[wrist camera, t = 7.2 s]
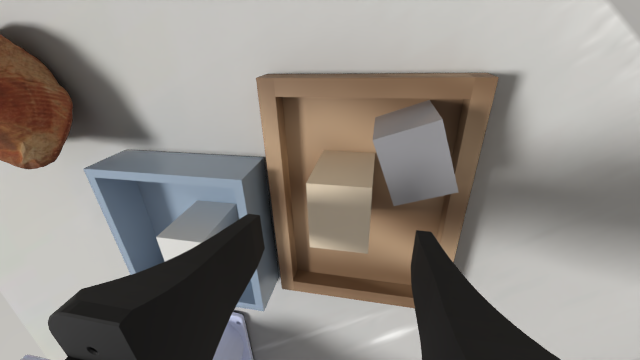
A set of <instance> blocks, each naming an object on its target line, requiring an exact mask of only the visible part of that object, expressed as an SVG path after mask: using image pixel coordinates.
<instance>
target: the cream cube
mask: <svg viewBox="0 0 640 360" xmlns="http://www.w3.org/2000/svg"><path fill="white" fill-rule="evenodd" d="M374 163H375V153H366V152H345V151H324V150H323V152H322V154H321V156H320V158H319V160H318V162H317V164H316V166H315V168H314V169H313V171H312V173H311V175H310V177H309V179H308V181H307V183H306V189H307V207H308V225H309V243H310V247H313V248H322V249H331V250H340V251H348V252H357V253H366V254H368V247H369V235H370V222H371V209H372V193H373V178H374Z"/></svg>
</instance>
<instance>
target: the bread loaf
mask: <svg viewBox="0 0 640 360" xmlns="http://www.w3.org/2000/svg"><path fill="white" fill-rule="evenodd" d="M72 109H73V103H72V100H71V98H70V96H69V94H68V92H67V91H66V90H65V89H64V88H63V87H61V86H60V85H59V84H58V82H57V80H56V79H55V78H54V76H53V74H52V73H51V72H50V71H49V69H48V68H47V67H46V66H45V65H44V64H43V63H42V62H41V61H40V60H38V59H37V58H36V57H35V56H33V55H31V54H29V53H28V52H27V51H25V50H24V49H22V48H21V47H19V46H17V45H14V44H13V43H12V42H11V41H10V40H8V39H7V38H5V37H3V36H2V35H0V160H1V161H4V162H7V163H10V164H12V165H14V166H17V167H20V168H24V169H35V168H39V167H44V166H47V165H48V164H50V163H52V162H54V161H55V160H56V159H57V157H58V156H59V154H60V152H61V150H62V147H63V145H64V143H65V141H66V139H67V137H68V134H69V132H70V128H71V124H72V121H73V115H72Z"/></svg>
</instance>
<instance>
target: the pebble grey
mask: <svg viewBox="0 0 640 360" xmlns="http://www.w3.org/2000/svg"><path fill="white" fill-rule="evenodd" d="M237 220H239V218H238V213H237V208H236V204H231V203H220V202H209V201H198V200H197V201H196V202H195V203H194V204H193V205H192V206H190V207H189V208H188V209H187V210H186V211H185V212H184V213H183V214H181V215H180V216H179V217H178V218H177V219H176V220H175V221H174V222H172V223H171V224H170V225H169V226H168V227H167V228H166V229H165V230H163V231H162V232H161V233H160V234H159V235H158V236H157V237H156V239H157V242H158V244H159V247H160V250H161V253H162V255H163V258H164V261H167V260H170V259H172V258H174V257H176V256H178V255H180V254H182V253H184V252H186V251H188V250H190V249H192V248H194V247H195V246H197V245H199V244H200V243H202V242H204V241H206V240H207V239H209V238H211V237H212V236H214V235H216V234H217V233H219V232H220V231H222V230H223V229H225V228H226V227H228V226H229V225H231V224H233V223H234V222H236V221H237Z"/></svg>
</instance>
